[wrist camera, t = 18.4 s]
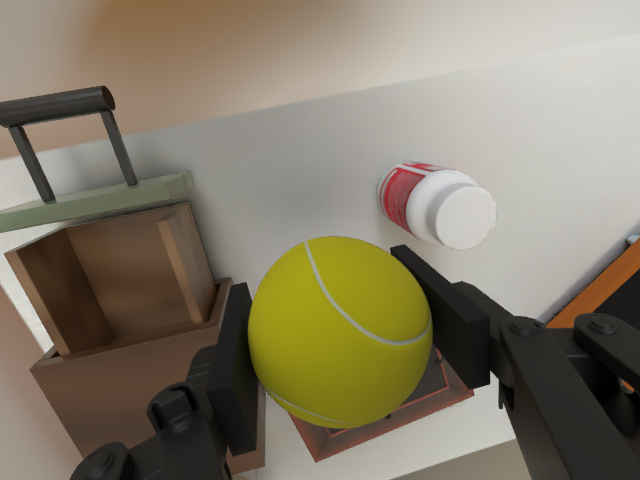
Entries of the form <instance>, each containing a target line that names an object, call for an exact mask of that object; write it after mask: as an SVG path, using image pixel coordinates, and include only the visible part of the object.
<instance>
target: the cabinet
mask: <svg viewBox="0 0 640 480" xmlns="http://www.w3.org/2000/svg"><path fill="white" fill-rule="evenodd" d="M214 284H215V287H216V290H217V293H218V294H217V298H216V301H215V304H214V307H213V310H212V314H211V317H210V320H209V322H207V323H202V324H198V325H194V326H189V327H185V328H181V329H176V330H172V331H168V332H163V333H159V334H155V335H150V336H146V337H142V338H137V339H133V340H129V341H124V342H120V343H116V344H111V345H107V346H103V347H98V348H94V349H90V350H85V351H81V352H77V353H72V354H68V355H64V356H60V354H59V353H58V351H57V349H56V347H55V345H54V346H53V347H52V348H51V349H50V350H49V351H48V352H47V353H46V354H45V355H44V356H43V357H42V358H41V359H40V360H39V361H38V362H36V363H35V364H34V365H33V367H31V368H30V371H31V373H32V374H33V376H34V378H35V379H36V381H37V383H38V385H39V386H40V388H41V390H42V391H43V393H44V394H45V396H46V398H47V399H48V401H49V402H50V404H51V406H52V408H53V409H54V411H55V412H56V414H57V416H58V417H59V419H60V421H61V423H62V424H63V426H64V427H65V429H66V431H67V432H68V434H69V436H70V437H71V439H72V441H73V442H74V444H75V445H76V447H77V449H78V451H79V452H80V454H81V455H82V457H83V459H85V458H86V457H87V456H88V455H89V454H91V453H92V452H93V451H95V450H96V449H97V448H99V447H101V446H103V445H105V444H107V443H112V442H116V441H117V442H122V443H124V445H125V446H126V447H127V449H130V448H132V447H134V446H136V445H138V444H140V443H142V442H143V441H145V440H147V439H149V438H151V437H152V436H154V435H155V434H157V433H156V431H155V429H154V427H153V425H152V423H151V422H150V420H149V418H148V416H147V414H146V411H147V406H148V404H149V403H150V401H151V400H152V398H153V397H154V396H156V395H157V394H158V393H159V392H160V391H161V390H163V389H164V388H166V387H168V386H169V385H172V384H175V383H177V382H185V380H186V379H187V378H186V377H187V374H188V371H189V367H190V364H191V361H192V358H193V357H194V356H195V355H196V353H197V352H198V351H199V350H200V348H204V347H207V346H211V345H215V344H217V341H218V337H219V332H220V328H221V324H222V320H223V316H224V311H225V307H226V303H227V299H228V295H229V290H230V286H232V285H233V283H232V280H231V278H230V277H229V278H225V279H220V280H216V281H214ZM265 399H266V394H265V391H264V387H263V386H262V384H261V382H260V380H259V388H258V416H257V445H256V451H252V452H249V453H245V454H242V455H238V456H235V457H232V455H231V452H230V450H229V447H227V455H226V461H227V464H228V466H229V468H230V471H231V475H235V474H239V473H242V472H246V471H249V470H253V469H257V468H260V467H264V466H265V403H266V400H265Z"/></svg>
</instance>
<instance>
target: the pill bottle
mask: <svg viewBox="0 0 640 480" xmlns="http://www.w3.org/2000/svg"><path fill="white" fill-rule="evenodd" d="M377 201H378V205H379V207H380V209H381V211H382V212H383V213H384V215H386V216H387V217H388V218H389V219H390V220H392V221H393V222H395V223H396V224H398V225H399V226H400V227H402V228H403V229H405V230H406V231H408V232H409V233H410V234H412V235H413V236H415V237H416V238H417V239H419V240H421V241H422V242H424V243H426V244H429V245H433V246H447V247H449V248H451V249H454V250H467V249H470V248H473V247H475V246H477V245H479V244H480V243H481V242H483V241H484V240H485V239H486V238H487V237H488V235H489V234H490V233H491V231H492V229H493V227H494V225H495V222H496V218H497V206H496V202H495V200H494V198H493V196H492V195H491V194H490V193H489V192H488V191H487V190H485V189H484V188H482V187H478V185H477V184H476V182H475V181H474V180H473V179H472V178H471V177H470V176H468V175H467V174H465V173H463V172H461V171H457V170H454V169H448V168H443V167H438V166H433V165H428V164H423V163H418V162H402V163H399V164H397V165H395V166H393V167H391V168H390V169H389V170H388V171H387V172H386V173H385V174H384V175H383V177H382V178H381V180H380V182H379V185H378V189H377Z"/></svg>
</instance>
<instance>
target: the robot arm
mask: <svg viewBox="0 0 640 480" xmlns="http://www.w3.org/2000/svg"><path fill="white" fill-rule="evenodd" d="M390 252H391V255H392V256H393V257H395V258H396V259H397V260H398V261H399V262H401V263H402V264H403V265H404V266H405V267H406V268H407V269H408V271H409V272H410V273H411V274H412V275H413V277H414V278H415V279H416V281H417V282H418V284H419V285H420V287H421V289H422V290H423V292H424V294H425V296H426V298H427V301H428V304H429V308H430V311H431V316H432V323H433V339H432V343H433V344H434V345H435V347H436V348H437V349H438V351H439V352H440V353H441V354H442V356H443V357H444V358H445V360H446V361H447V362H448V364H449V365H450V366H451V367H452V369H453V370H454V371H455V373H456V374H457V375H458V376H459V378H460V379H461V380H462V382H463V383H464V384H465V386H466V387H467V388H468V389H469V390H471V389H475V388H478V387H482V386H486V385H489V384H490V371H491V372H492V373H493V374H494V375H495V376H496V377H497V378H498V379H499V409H503V403H504V406H505V408H506V411H507V414H508V416H509V419H510V422H511V425H512V427H513V430H514V433H515V435H516V438H517V441H518V444H519V446H520V449H521V452H522V454H523V457H524V460H525V462H526V465H527V468H528V471H529V473H530V476H531V479H532V480H640V331H638V330H637V329H635V328H634V327H632V326H630V325H629V324H627V323H626V322H624V321H622V320H620V319H618V318H616V317H613V316H610V315H606V314H602V313H583V314H580V315H577V317H576V318H575V319H574V325H573V327H569V328H547V327H546V326H545V325H544V324H542V323H541V322H539V321H537V320H535V319H532V318H528V317H523V316H513V315H512V314H511V313H509V312H508V311H507V310H505V309H504V308H503V307H501V306H500V305H499V304H497V303H496V302H495V301H494V300H492V299H490V297H488V296H487V295H486V294H483V292H482V291H480V290H479V289H478V288H476V287H475V286H474V285H471V284H468V283H465V282H463V281H461V282H457V283H453V284H451V283H450V282H449V281H448V280H446V279H445V278H444V277H443V276H442V275H441V274H439V273H438V272H437V271H436V270H435V269H433V268H432V267H431V266H430V265H429V264H427V263H426V262H425V261H424V260H423V259H421V258H420V257H419V256H418V255H417V254H416V253H414V252H413V251H412V250H411V249H410V248H408V247H407V246H406V245H405V244H404V245H399V246H395V247H391V248H390ZM251 306H252V299H251V296H250V293H249V289H248V286H247V283H246V282H245V283H241V284H237V285H232V286H230V290H229V295H228V299H227V303H226V307H225V311H224V316H223V320H222V324H221V328H220V332H219V337H218V341H217V344H215V345H211V346H207V347H204V348H200V350H199V351H198V352H197V353H196V355H195V356H194V357H193V358H192V361H191V364H190V367H189V371H188V374H187V377H186V378H187V379H186V380H185V382H177V383H175V384H172V385H169V386H168V387H166V388H164V389H163V390H161V391H160V392H159V393H158V394H157V395H156V396H154V397H153V398H152V400H151V401H150V403H149V404H148V406H147V411H146V414H147V416H148V418H149V420H150V422H151V423H152V425H153V427H154V429H155V431H156V433H157V434H155V435H154V436H152V437H151V438H149V439H147V440H145V441H143V442H142V443H140V444H138V445H136V446H134V447H132V448H130V449H127V447H126V446H125V445H124V443H122V442H117V441H116V442H112V443H107V444H105V445H103V446H101V447H99V448H97V449H96V450H95V451H93V452H92V453H91V454H89V455H88V456H87V457H86V458H85V459H84V460H83V461H82V462H81V463H80V464H79V465H78V466H77V468H76V470H75V471H74V473H73V474H72V476H71V478H70V480H233V478H232V475H231V471H230V468H229V466H228V464H227V461H226V455H227V447H229V450H230V452H231V455H232V457H235V456H238V455H242V454H245V453H249V452H252V451H256V445H257V416H258V388H259V379H258V377H257V375H256V373H255V371H254V368H253V365H252V361H251V357H250V351H249V343H248V323H249V316H250V310H251ZM623 381H625V382H626V383H627V384H628V385H630V386H631V387H632V388H633V389H634V391H631V390H630V389H628V388H627V387H626V386H625V385H624V384H623Z"/></svg>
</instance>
